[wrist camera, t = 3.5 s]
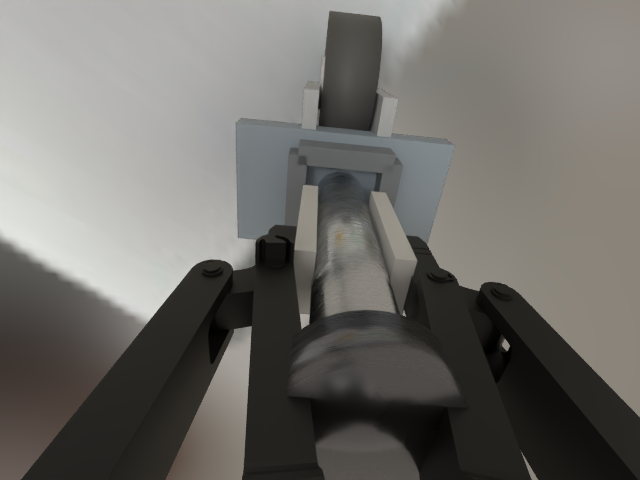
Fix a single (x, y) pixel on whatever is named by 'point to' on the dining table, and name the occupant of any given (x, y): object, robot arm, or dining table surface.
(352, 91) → the cart
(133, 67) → the dining table surface
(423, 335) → the pin
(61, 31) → the dining table surface
